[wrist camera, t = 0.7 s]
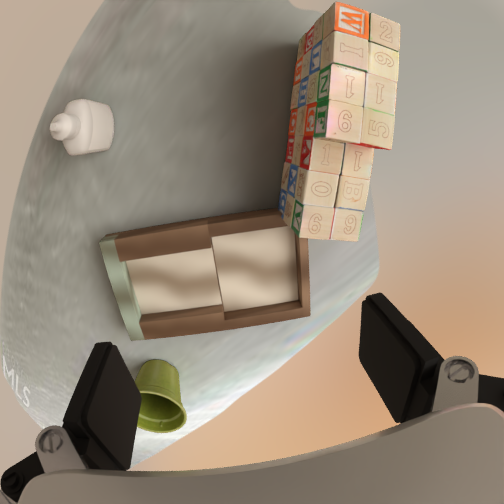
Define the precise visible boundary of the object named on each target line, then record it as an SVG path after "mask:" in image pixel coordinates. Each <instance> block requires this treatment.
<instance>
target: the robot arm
mask: <svg viewBox="0 0 504 504" xmlns="http://www.w3.org/2000/svg"><path fill="white" fill-rule="evenodd" d="M359 359H360V362H361V364H362V366H363V367H364V369H365V371H366V372H367V374H368V376H369V377H370V379H371V381H372V382H373V384H374V386H375V387H376V389H377V391H378V393H379V395H380V396H381V398H382V400H383V401H384V403H385V405H386V407H387V408H388V410H389V412H390V414H391V415H392V417H393V419H394V421H395V422H396V423H399V422H400V423H401V424H399V425H396V426H394V427H391V428H388V429H386V430H383V431H380V432H377V433H374V434H371V435H368V436H365V437H362V438H359V439H356V440H353V441H350V442H346V443H343V444H340V445H337V446H333V447H329V448H326V449H322V450H318V451H314V452H310V453H306V454H301V455H297V456H292V457H287V458H282V459H277V460H272V461H266V462H261V463H254V464H248V465H241V466H233V467H224V468H215V469H203V470H188V471H126V470H128V469H129V468H130V465H131V459H132V452H133V446H134V440H135V434H136V429H137V423H138V418H139V412H140V407H141V402H142V397H141V393H140V391H139V389H138V388H137V386H136V384H135V382H134V380H133V378H132V376H131V374H130V372H129V370H128V368H127V366H126V364H125V362H124V360H123V358H122V356H121V354H120V352H119V350H118V348H117V346H116V345H113V344H112V343H111V342H101V343H96V344H95V346H94V348H93V350H92V352H91V354H90V357H89V359H88V361H87V363H86V365H85V368H84V370H83V372H82V374H81V377H80V379H79V381H78V384H77V386H76V388H75V391H74V393H73V396H72V398H71V401H70V403H69V405H68V408H67V411H66V413H65V416H64V418H63V422H64V423H63V426H62V427H60V426H56V425H55V426H49V427H47V428H45V429H44V430H42V431H41V432H40V433H39V435H38V436H37V438H36V442H35V447H36V452H34V453H33V454H31V455H30V456H28V457H26V458H25V459H23V460H22V461H20V462H18V463H17V464H15V465H14V466H12V467H10V468H9V469H7V470H6V471H5V472H4V474H3V475H2V478H1V490H0V504H504V378H498V377H491V376H486V375H480V374H479V372H478V368H477V366H476V364H475V363H474V362H473V361H472V360H470V359H468V358H466V357H462V356H453V357H449V358H448V359H446V360H444V359H443V358H442V357H441V355H440V354H439V353H438V352H437V351H436V350H435V349H434V348H433V347H432V345H431V344H430V343H429V342H428V341H427V340H426V339H425V337H424V336H423V335H422V334H421V333H420V332H419V331H418V330H417V329H416V328H415V327H414V325H413V324H412V323H411V322H410V321H408V320H407V319H406V318H405V317H404V316H403V315H402V314H401V313H400V311H398V309H397V308H396V307H395V306H394V305H393V304H392V303H391V302H390V301H389V300H388V299H387V298H386V297H385V296H384V295H383V294H382V293H377V294H372V295H369V296H367V297H366V300H364V301H363V302H362V312H361V330H360V344H359Z"/></svg>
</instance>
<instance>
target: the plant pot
mask: <svg viewBox="0 0 504 504" xmlns="http://www.w3.org/2000/svg"><path fill="white" fill-rule="evenodd" d="M135 384H136V386H137V388H138V389H139V391H140V393H141V397H142V402H141V407H140V412H139V418H138V423H137V427H139V428H141V429H144V430H147V431H150V432H156V433H168V432H173V431H176V430H178V429H180V428H181V427H182V426H183V425H184V424H185V423H186V419H187V415H186V411H185V409H184V408H183V405H182V403H181V396H180V385H179V373H178V371H177V369H176V368H175V367H174V366H171V365H170V364H168V363H167V362H166V361H163V360H150V361H147V362H146V363H145V364H144V365H143V366H142V367H141V369H140V371H139V373H138V375H137V377H136V380H135Z"/></svg>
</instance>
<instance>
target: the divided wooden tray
mask: <svg viewBox="0 0 504 504" xmlns="http://www.w3.org/2000/svg"><path fill="white" fill-rule="evenodd" d="M281 216H282V213H281V212H280V211H279V210H278V208H272V209H264V210H257V211H250V212H242V213H235V214H228V215H221V216H215V217H208V218H202V219H195V220H189V221H182V222H176V223H170V224H164V225H158V226H152V227H146V228H141V229H135V230H129V231H124V232H118V233H113V234H108V235H106V236H105V237H104V238H103V239H102V240H101V241H100V242H99V245H100V249H101V252H102V256H103V259H104V263H105V266H106V269H107V273H108V276H109V279H110V282H111V286H112V289H113V292H114V295H115V298H116V301H117V304H118V306H119V309H120V312H121V315H122V318H123V320H124V323H125V326H126V328H127V331H128V334H129V336H130V339H131V341H134V340H146V339H156V338H166V337H175V336H184V335H192V334H200V333H208V332H215V331H223V330H230V329H237V328H243V327H250V326H256V325H262V324H268V323H274V322H280V321H286V320H291V319H297V318H302V317H308V316H310V281H309V255H308V238H300V237H298V236H297V235H296V233H295V232H294V231H293V230H292V229H291V228H289V227H288V225H287V224H286V223H285V222H284V220H283V219H282V218H281Z"/></svg>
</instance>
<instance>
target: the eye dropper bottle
mask: <svg viewBox="0 0 504 504" xmlns="http://www.w3.org/2000/svg"><path fill="white" fill-rule="evenodd" d="M50 132H51V135H52V137H53V138H55V139H56V140H62V142H63V145H64V147H65V149H66V151H67V152H68V154H70V155H81V154H87V153H93V152H100V151H105V150H108V149H109V148H110V146H111V143H112V140H113V136H114V118H113V114H112V111H111V109H110V107H109V106H108V105H107V104H103V103H100V102H96V101H92V100H87V99H78V100H74V101H71V102H69V103H68V104H67V105H66V107H65V109H64V112H63V113H60V114H58V115H57V116H56V117H55V118H54V119H53V120H52V122H51V125H50Z"/></svg>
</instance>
